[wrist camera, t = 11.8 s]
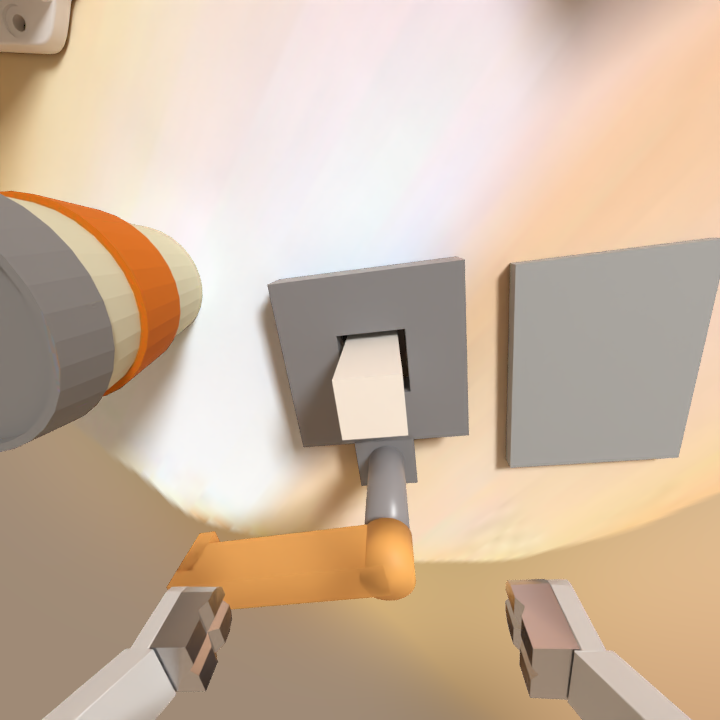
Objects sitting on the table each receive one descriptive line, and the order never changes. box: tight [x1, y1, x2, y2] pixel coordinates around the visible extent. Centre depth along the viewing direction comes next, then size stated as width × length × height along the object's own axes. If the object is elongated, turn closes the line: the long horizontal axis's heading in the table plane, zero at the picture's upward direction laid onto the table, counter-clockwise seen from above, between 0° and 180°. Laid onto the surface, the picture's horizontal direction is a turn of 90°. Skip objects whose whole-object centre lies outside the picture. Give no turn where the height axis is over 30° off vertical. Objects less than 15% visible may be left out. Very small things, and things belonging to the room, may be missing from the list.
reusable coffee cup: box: [0, 191, 202, 452], centre depth 21 cm, size 13×13×15 cm
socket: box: [268, 257, 469, 529], centre depth 25 cm, size 14×18×10 cm
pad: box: [506, 238, 720, 468], centre depth 27 cm, size 14×18×1 cm
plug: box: [332, 330, 408, 440], centre depth 24 cm, size 4×4×10 cm
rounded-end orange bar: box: [167, 518, 416, 609], centre depth 22 cm, size 3×15×4 cm, turn 103°
